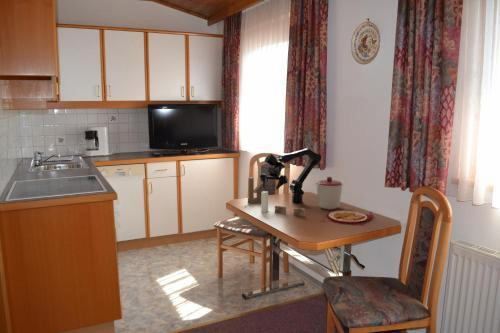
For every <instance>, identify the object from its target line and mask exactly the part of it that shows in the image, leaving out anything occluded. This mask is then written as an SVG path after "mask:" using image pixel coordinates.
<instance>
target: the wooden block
mask: <svg viewBox="0 0 500 333" xmlns="http://www.w3.org/2000/svg"><path fill="white" fill-rule="evenodd" d="M247 180H248V197H247V203H248V204H256V203H261V192H263V191H264V188H263V181H260V182H259V184H258V185H256V187H255V186H254V185H255V184H254V181H255V180H254V177H248V178H247ZM254 187H255V188H254ZM254 194H256V196H254Z"/></svg>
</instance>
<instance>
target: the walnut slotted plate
mask: <svg viewBox="0 0 500 333" xmlns="http://www.w3.org/2000/svg"><path fill="white" fill-rule="evenodd" d="M274 213H275V214H281V215H286V214H287V206H283V205H274ZM293 216H295V217H303V218H304V217H306V208H300V207H299V208H298V207H294V208H293Z"/></svg>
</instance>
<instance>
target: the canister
mask: <svg viewBox="0 0 500 333" xmlns="http://www.w3.org/2000/svg"><path fill="white" fill-rule="evenodd" d="M315 185H316V194H317V195H316V196H317V203H318V206H319V208H321V209H324V210H335V209H338V208H339V207H340V205H341V198H342V196H341V195H342V192H343V186H344V183H343V182H341V181H339V180H335V179H333V178H332V176H327V178H326V179H322V180H318V181H317V182H315Z"/></svg>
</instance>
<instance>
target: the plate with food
mask: <svg viewBox="0 0 500 333" xmlns="http://www.w3.org/2000/svg"><path fill="white" fill-rule="evenodd" d="M372 213H373V211H370V212H369V213H368V214H367V213H364V212H360V211H354V210H335V211H334V210H333V209H330V211H329V212H328V213H327V214H326V215H325V216H326V219H328V220H327V222H329V223H334V224H339V225H345V224H347V225H351V226H355V225H356V226H365V223H370V222H371V219H373V218H374V217H373V216H374V214H372ZM321 222H324V223H326V220H325V218H323V219H321Z"/></svg>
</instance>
